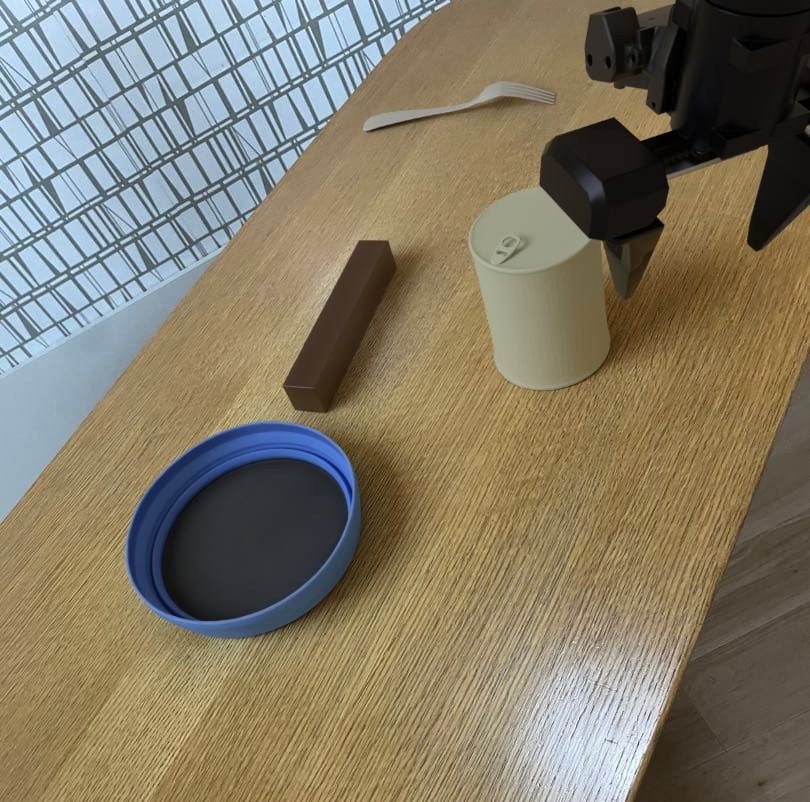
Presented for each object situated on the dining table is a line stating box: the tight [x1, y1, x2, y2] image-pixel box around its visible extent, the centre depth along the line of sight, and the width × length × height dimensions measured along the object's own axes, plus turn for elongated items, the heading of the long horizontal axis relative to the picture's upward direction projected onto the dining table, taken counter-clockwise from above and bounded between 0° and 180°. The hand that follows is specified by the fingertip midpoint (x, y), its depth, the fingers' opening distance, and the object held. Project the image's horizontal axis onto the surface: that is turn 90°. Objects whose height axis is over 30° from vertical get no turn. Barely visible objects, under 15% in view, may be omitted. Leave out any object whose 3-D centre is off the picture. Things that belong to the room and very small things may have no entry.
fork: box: [362, 80, 556, 132], centre depth 90 cm, size 3×21×3 cm, turn 80°
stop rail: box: [282, 239, 397, 414], centre depth 73 cm, size 3×18×3 cm, turn 160°
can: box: [468, 185, 612, 391], centre depth 62 cm, size 9×9×12 cm
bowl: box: [124, 420, 362, 639], centre depth 62 cm, size 18×18×4 cm
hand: (689, 270), depth 51 cm, fingers open, 9 cm apart
